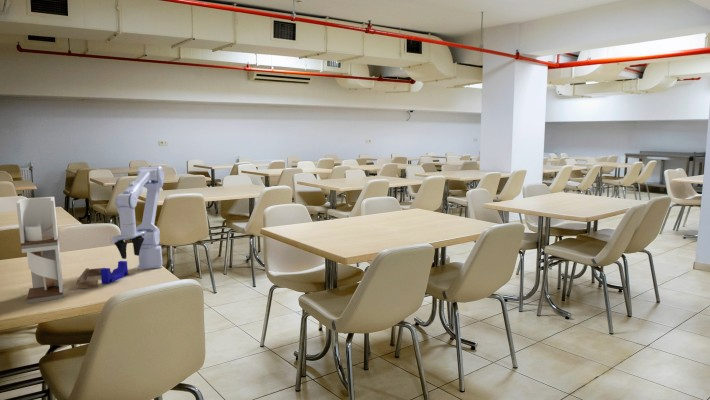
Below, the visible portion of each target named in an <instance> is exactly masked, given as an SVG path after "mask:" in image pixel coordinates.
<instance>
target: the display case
mask: <svg viewBox="0 0 710 400" xmlns="http://www.w3.org/2000/svg"><path fill="white" fill-rule="evenodd" d="M55 199H56V198H55V196H45V197H44V196H43V197H30V198H29V197H27V198H19V199H18V200H17V201H16V209H17V210H16V212H17V219H18V220H17V221H18V228H19V237H20V247H21V254H25V253H26V256H27V257H26V258H27V267H28V269H29V270H30V273H31V281H32V282H31V283H32V287H29V288H28V292H27V296H26V300H27V304H31V303H36V302H43V301H50V300H57V299H63V298H64V281H63V280H64V279H63V271H62V260H61V252H60V251H61V250H60V240H59V231H58V222H57V212H56V211H57V210H56V201H55Z"/></svg>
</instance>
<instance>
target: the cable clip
mask: <svg viewBox="0 0 710 400" xmlns="http://www.w3.org/2000/svg"><path fill="white" fill-rule="evenodd" d="M101 268H102V269H101V275H100V280H101V284H103V285H110V284H112V283H114V282H116V281H118V280H121V279H122V278H125V277H127V276H129V271H128V261H127V260H119V261H117V267H115V268H114V269H113V270H112V271H111V268H110V267H108V268H107V267H101Z"/></svg>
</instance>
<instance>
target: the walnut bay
mask: <svg viewBox="0 0 710 400" xmlns="http://www.w3.org/2000/svg"><path fill="white" fill-rule="evenodd" d="M102 268H103V267H98V268H97V267H96V268H85V269H84V270H83V272H82V273H81V275H80V276H79V277H78V278H77V279H76V288H77V289H89V288H98V287H99V281H98V279H91V280H90V279H89V277H90V276H91V277H92V276H101V269H102ZM87 279H89V280H87Z"/></svg>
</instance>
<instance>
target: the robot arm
mask: <svg viewBox="0 0 710 400" xmlns="http://www.w3.org/2000/svg"><path fill="white" fill-rule="evenodd" d="M165 175H166V174H165V170H164V168H163V167H162V166H139V168H138V169H137V176H136V178H135V180H134V182H130V183H129V184H128V185H127V186H126V188H125V189H124V191H122V193H119V194H117V195H116V197H115V201H114V204H115V206H116V209H117V213H118V218H119V230H120V231H119V232H120V234H119V235H115V236H112V237H110V243H111V244H112V243H113V244H114V246H116V249H118V251H119V255H120V257H121V259H124V260H125V259H127V245H128V242H127V240H130V239H131V242H132V248H133V254H134V256H137V257H138V266H137V270H139V271H140V270H149V269H160V268H162V267H163V266H162V265H163V263H164V261H163V260H164V259H163V255H162V254H163V253H162V252H163V251H162V246H161V245H159V243H161V242H160V241H161V235H160V234H161V233H160V232H161V231H160V228H159V227H158V226H156V225H155V221H156V216H157V211H158V210H157V209H158V203H159V197H160V189H161V188H163V187H164V182H165ZM143 188H145V189H146V195H145V202H144V208H143V216H142V222H141V223H140V224H139V225H137V224H136V211H135V210H136V207H137V205H138V201H139V197H140V196H141V194H142V192H143Z"/></svg>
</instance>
